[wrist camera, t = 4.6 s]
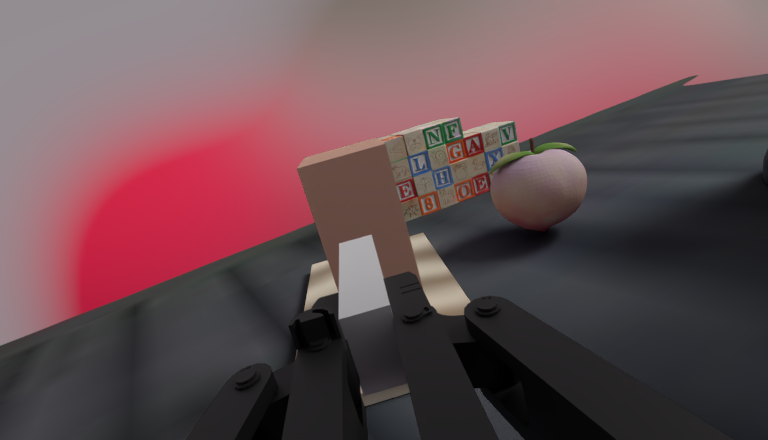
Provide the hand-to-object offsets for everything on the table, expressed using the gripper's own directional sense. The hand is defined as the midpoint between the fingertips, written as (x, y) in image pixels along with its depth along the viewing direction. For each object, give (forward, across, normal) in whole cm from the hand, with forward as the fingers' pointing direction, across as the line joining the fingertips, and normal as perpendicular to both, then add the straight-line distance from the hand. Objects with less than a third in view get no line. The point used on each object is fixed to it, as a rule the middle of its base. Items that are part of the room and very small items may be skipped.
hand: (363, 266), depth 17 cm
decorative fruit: (+20, +18, -10) cm, 29 cm away
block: (+8, 0, -10) cm, 12 cm away
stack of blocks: (+42, +15, -10) cm, 46 cm away
